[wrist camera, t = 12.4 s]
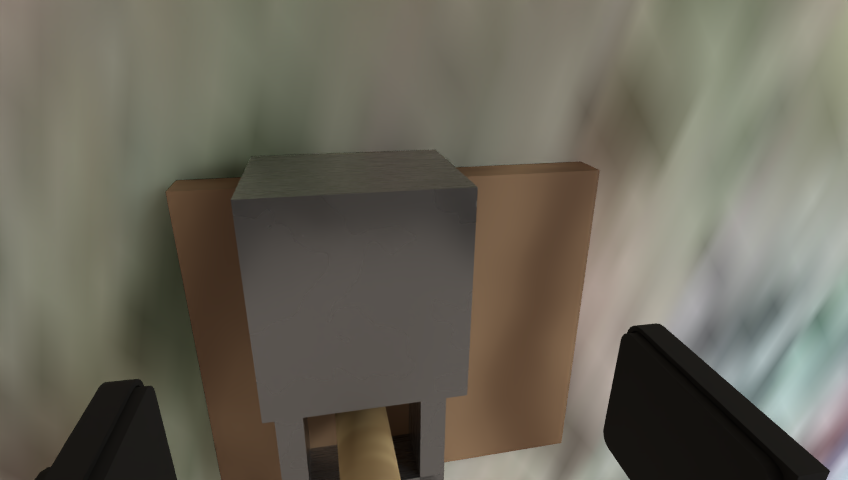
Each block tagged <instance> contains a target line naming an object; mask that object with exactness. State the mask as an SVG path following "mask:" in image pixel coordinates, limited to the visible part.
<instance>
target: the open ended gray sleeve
mask: <svg viewBox="0 0 848 480" xmlns="http://www.w3.org/2000/svg"><path fill="white" fill-rule="evenodd" d="M477 195H478V187H477V186H476V185H475V184H474V183H473V182H472V181H470V180H469V179H468V178H467V177H466V176H465V175H464V174H462V173H461V172H460V171H459V170H458V169H457V168H456V167H455V166H453V165H452V164H451V163H450V162H449V161H448V160H447V159H445V158H444V157H443V156H442V155H441V154H440V153H439V152H437V151H436V150H412V151H384V152H356V153H327V154H299V155H271V156H251V158H250V160H249V162H248V164H247V166H246V168H245V170H244V172H243V175H242V177H241V179H240V181H239V183H238V185H237V187H236V189H235V192H234V194H233V196H232V198H231V206H232V213H233V221H234V228H235V235H236V242H237V249H238V256H239V263H240V270H241V277H242V284H243V291H244V298H245V306H246V313H247V320H248V327H249V334H250V341H251V348H252V355H253V362H254V369H255V376H256V383H257V391H258V398H259V405H260V412H261V419H262V423H269V422H274V423H275V430H276V438H277V446H278V453H279V461H280V469H281V477H282V480H340V474H339V461H338V447H337V445H330V446H324V447H317V448H310V439H309V429H308V419H307V417H313V416H320V415H327V414H334V413H342V412H349V411H356V410H363V409H371V408H378V407H385V406H392V405H400V404H407V403H409V434H404V435H397V436H392V440H393V445H394V450H395V455H396V459H397V464H398V469H399V473H400V478H401V480H444V450H445V419H446V398H450V397H458V396H465V395H467V389H468V370H469V350H470V331H471V311H472V292H473V272H474V253H475V234H476V214H477Z"/></svg>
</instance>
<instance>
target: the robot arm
mask: <svg viewBox="0 0 848 480" xmlns="http://www.w3.org/2000/svg"><path fill="white" fill-rule="evenodd" d="M603 433H604V439H605V442H606V445H607V447H608V448H609V450H610V451H611V453H612V454H613V456H614V457H615V459H616V460H617V462H618V463H619V464H620V466H621V467H622V469H623V470H624V472H625V473H626V475H627V476H628V478H629V479H630V480H826V479H827V477H828V474H829V472H830V471H829V470H828V469H827V468H826V467H825V466H824V465H823V464H821V463H820V462H819V461H818V460H817V459H816V458H814V457H813V456H812V455H811V454H810V453H809V452H808V451H806V450H805V449H804V448H803V447H802V446H801V445H800V444H798V443H797V442H796V441H795V440H794V439H793V438H791V437H790V436H789V435H788V434H787V433H786V432H785V431H783V430H782V429H781V428H780V427H779V426H778V425H776V424H775V423H774V422H773V421H772V420H771V419H770V418H768V417H767V416H766V415H765V414H764V413H763V412H762V411H760V410H759V409H758V408H757V407H756V406H755V405H753V404H752V403H751V402H750V401H749V400H748V399H747V398H745V397H744V396H743V395H742V394H741V393H740V392H739V391H737V390H736V389H735V388H734V387H733V386H732V385H730V384H729V383H728V382H727V381H726V380H725V379H724V378H722V377H721V376H720V375H719V374H718V373H717V372H716V371H714V370H713V369H712V368H711V367H710V366H709V365H707V364H706V363H705V362H704V361H703V360H702V359H701V358H699V357H698V356H697V355H696V354H695V353H694V352H692V351H691V350H690V349H689V348H688V347H687V346H686V345H684V344H683V343H682V342H681V341H680V340H679V339H678V338H676V337H675V336H674V335H673V334H672V333H671V332H669V331H668V330H667V329H666V328H665V327H664V326H662V325H660V324H647V325H637V326H632V327H630V329H629V330H628V332H627V334H624V335H623V336H622V339H621V343H620V348H619V353H618V358H617V363H616V368H615V373H614V378H613V383H612V389H611V394H610V399H609V404H608V409H607V414H606V419H605V424H604V431H603ZM35 480H177V478H176V474H175V470H174V466H173V462H172V458H171V454H170V450H169V446H168V442H167V438H166V434H165V430H164V426H163V422H162V418H161V414H160V410H159V406H158V402H157V398H156V394H155V390H154V388H153V387H152V386H144V385H143V382H142V381H141V380H139V379H133V380H123V381H114V382H105V383H103V384H102V385H101V386H100V387H99V388H98V390H97V392H96V393H95V395H94V397H93V398H92V400H91V402H90V403H89V405H88V407H87V408H86V410H85V412H84V413H83V415H82V417H81V418H80V420H79V421H78V423H77V425H76V426H75V428H74V430H73V431H72V433H71V435H70V436H69V438H68V440H67V441H66V443H65V445H64V446H63V448H62V450H61V451H60V453H59V455H58V456H57V458H56V460H55V461H54V463H53V465H52V466H51V467H48V468H46V469H44V470H43V471H41V472H40V473H39V475H38V476H37V477H36V478H35Z"/></svg>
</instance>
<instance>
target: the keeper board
mask: <svg viewBox="0 0 848 480" xmlns="http://www.w3.org/2000/svg"><path fill="white" fill-rule="evenodd" d="M456 168H457V169H458V170H459V171H460V172H461V173H462V174H464V175H465V176H466V177H467V178H468V179H469V180H470V181H472V182H473V183H474V184H475V185H476V186H477V187H478V195H477V214H476V234H475V253H474V272H473V292H472V311H471V331H470V350H469V370H468V389H467V395H465V396H458V397H450V398H446V419H445V450H444V462H449V461H455V460H461V459H467V458H473V457H479V456H485V455H491V454H497V453H503V452H509V451H515V450H521V449H527V448H533V447H539V446H545V445H551V444H557V443H561V440H562V433H563V426H564V419H565V412H566V405H567V398H568V390H569V383H570V376H571V369H572V362H573V355H574V348H575V341H576V334H577V327H578V320H579V312H580V305H581V298H582V291H583V284H584V277H585V270H586V263H587V256H588V249H589V241H590V234H591V227H592V220H593V213H594V206H595V199H596V192H597V185H598V178H599V170H598V169H596V168H594V167H591V166H589V165H587V164H585V163H583V162H563V163H541V164H520V165H498V166H476V167H456ZM240 179H241V177H238V178H216V179H194V180H176V181H175V182H174V183H173V184H172V185H171V187H170V188H169V189H168V190H167V191H166V197H167V202H168V207H169V212H170V218H171V223H172V228H173V233H174V238H175V243H176V249H177V254H178V259H179V264H180V269H181V274H182V279H183V285H184V290H185V295H186V300H187V305H188V310H189V316H190V321H191V326H192V331H193V336H194V341H195V346H196V352H197V357H198V362H199V367H200V372H201V377H202V383H203V388H204V393H205V398H206V403H207V408H208V413H209V419H210V424H211V429H212V434H213V439H214V444H215V449H216V455H217V460H218V465H219V470H220V475H221V480H282V477H281V469H280V461H279V453H278V446H277V438H276V430H275V423H274V422H269V423H262V419H261V412H260V405H259V398H258V391H257V383H256V376H255V369H254V362H253V355H252V348H251V341H250V334H249V327H248V320H247V313H246V306H245V298H244V291H243V284H242V277H241V270H240V263H239V256H238V249H237V242H236V235H235V228H234V221H233V213H232V206H231V198H232V196H233V194H234V192H235V189H236V187H237V185H238V183H239V181H240ZM307 419H308V429H309V439H310V448H317V447H324V446H330V445H337V447H338V461H339V474H340V480H401V478H400V473H399V469H398V464H397V459H396V455H395V450H394V445H393V440H392V436H397V435H404V434H409V403H407V404H400V405H392V406H385V407H378V408H371V409H363V410H356V411H349V412H342V413H334V414H327V415H320V416H313V417H307Z"/></svg>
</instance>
